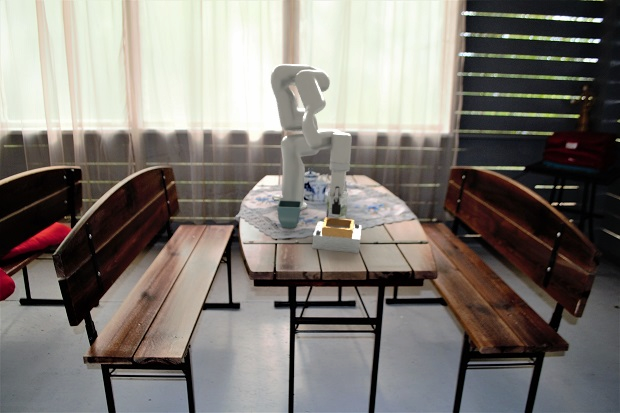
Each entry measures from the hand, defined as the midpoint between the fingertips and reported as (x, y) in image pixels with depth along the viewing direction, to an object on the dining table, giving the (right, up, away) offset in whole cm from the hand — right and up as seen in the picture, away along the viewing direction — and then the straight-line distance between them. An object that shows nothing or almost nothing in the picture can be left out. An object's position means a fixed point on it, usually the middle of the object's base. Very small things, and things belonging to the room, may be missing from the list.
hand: (336, 210), depth 174 cm
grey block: (+2, +3, +34) cm, 34 cm away
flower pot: (-19, -6, +2) cm, 20 cm away
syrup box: (0, -7, +2) cm, 7 cm away
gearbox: (-1, -11, -13) cm, 18 cm away
